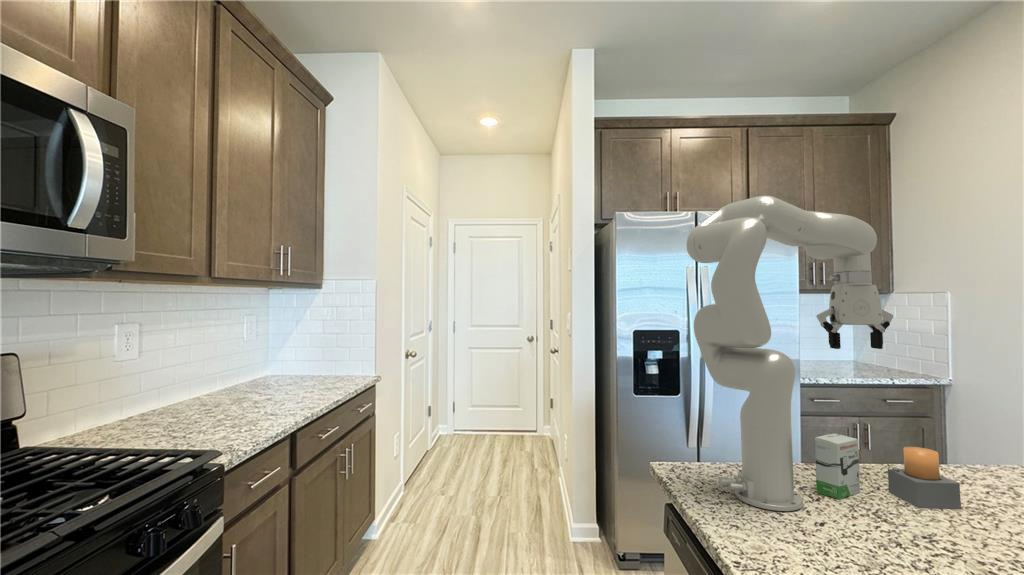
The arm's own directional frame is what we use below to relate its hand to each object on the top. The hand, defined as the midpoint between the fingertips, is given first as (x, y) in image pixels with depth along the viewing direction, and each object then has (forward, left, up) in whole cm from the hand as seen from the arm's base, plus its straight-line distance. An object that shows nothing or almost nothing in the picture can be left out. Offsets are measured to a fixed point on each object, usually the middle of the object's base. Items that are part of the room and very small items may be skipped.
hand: (855, 348), depth 113 cm
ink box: (-13, -13, -31) cm, 36 cm away
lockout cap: (+2, -16, -25) cm, 30 cm away
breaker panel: (+2, -16, -30) cm, 34 cm away
